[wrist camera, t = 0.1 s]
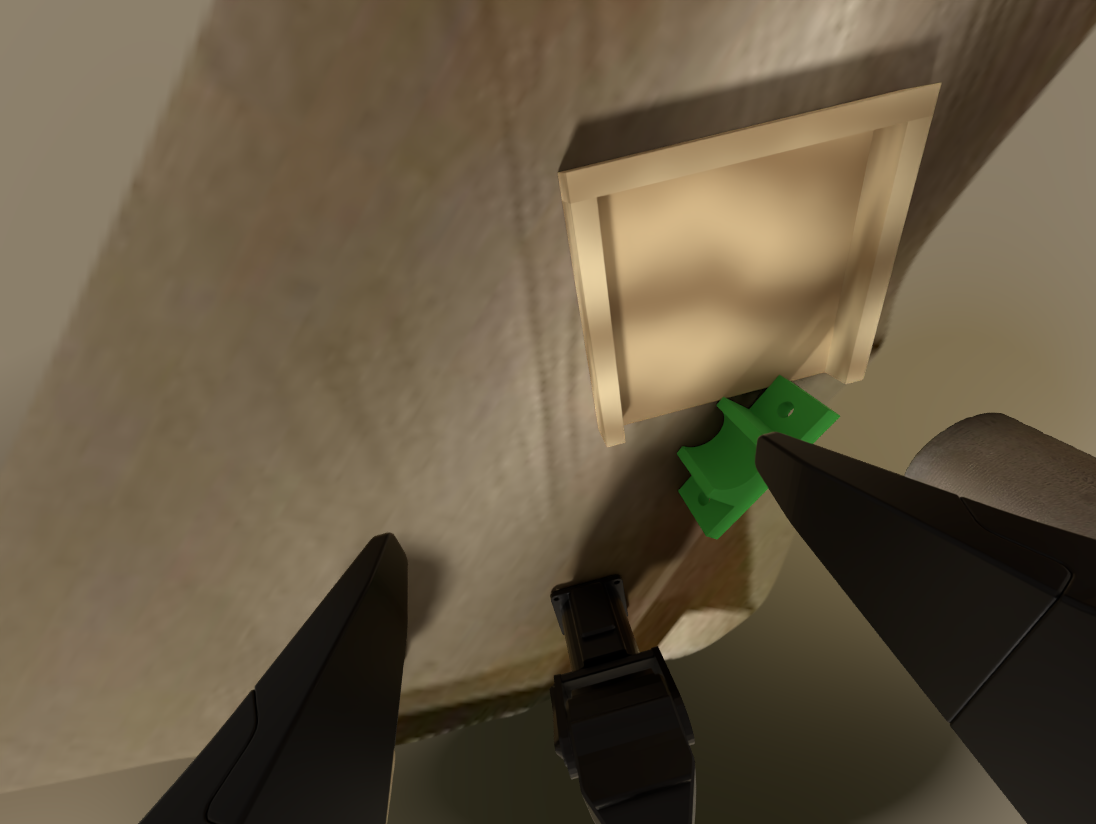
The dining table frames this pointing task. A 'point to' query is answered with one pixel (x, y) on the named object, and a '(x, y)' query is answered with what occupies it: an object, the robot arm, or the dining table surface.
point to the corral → (741, 254)
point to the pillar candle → (1012, 471)
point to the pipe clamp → (745, 452)
